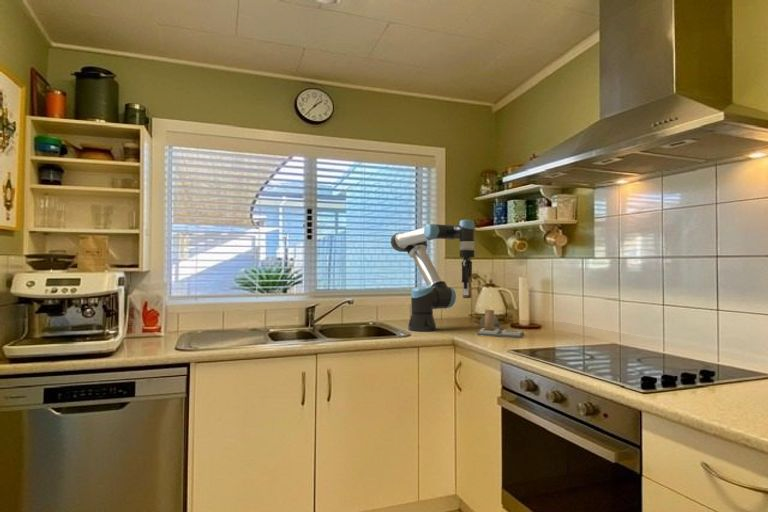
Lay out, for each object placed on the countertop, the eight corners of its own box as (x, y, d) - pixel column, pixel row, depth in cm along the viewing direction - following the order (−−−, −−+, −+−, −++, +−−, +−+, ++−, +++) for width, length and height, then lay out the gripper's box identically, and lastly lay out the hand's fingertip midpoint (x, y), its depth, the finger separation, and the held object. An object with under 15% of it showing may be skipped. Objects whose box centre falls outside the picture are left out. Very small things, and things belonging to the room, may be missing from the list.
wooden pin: (461, 298, 227) (461, 276, 227) (464, 297, 231) (463, 276, 231) (470, 298, 225) (470, 276, 225) (472, 297, 229) (472, 276, 229)
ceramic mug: (478, 328, 241) (478, 314, 241) (485, 327, 247) (485, 313, 247) (496, 331, 234) (497, 316, 234) (503, 329, 240) (503, 315, 240)
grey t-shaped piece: (477, 335, 220) (477, 311, 220) (482, 331, 230) (482, 308, 231) (520, 338, 211) (520, 313, 211) (523, 334, 222) (523, 310, 222)
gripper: (470, 249, 219) (470, 296, 218) (477, 250, 235) (477, 293, 234) (455, 249, 222) (455, 295, 222) (463, 250, 238) (464, 293, 237)
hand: (467, 294), depth 228 cm, fingers closed on wooden pin, 4 cm apart
